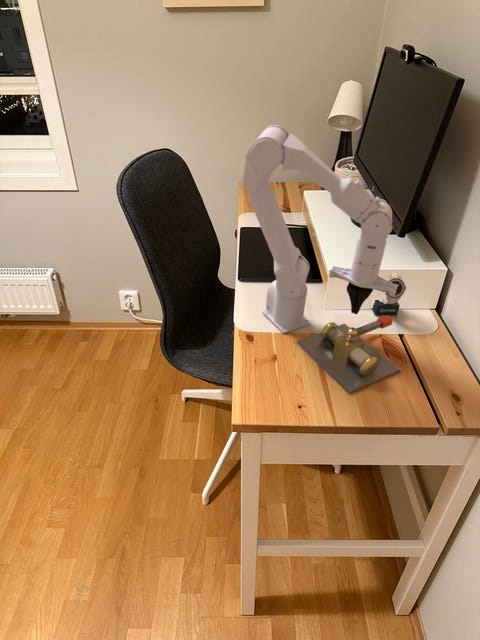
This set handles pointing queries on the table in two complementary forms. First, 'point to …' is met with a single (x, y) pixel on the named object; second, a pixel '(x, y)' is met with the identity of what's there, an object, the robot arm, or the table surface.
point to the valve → (347, 358)
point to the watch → (390, 298)
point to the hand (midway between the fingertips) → (355, 311)
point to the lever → (369, 327)
